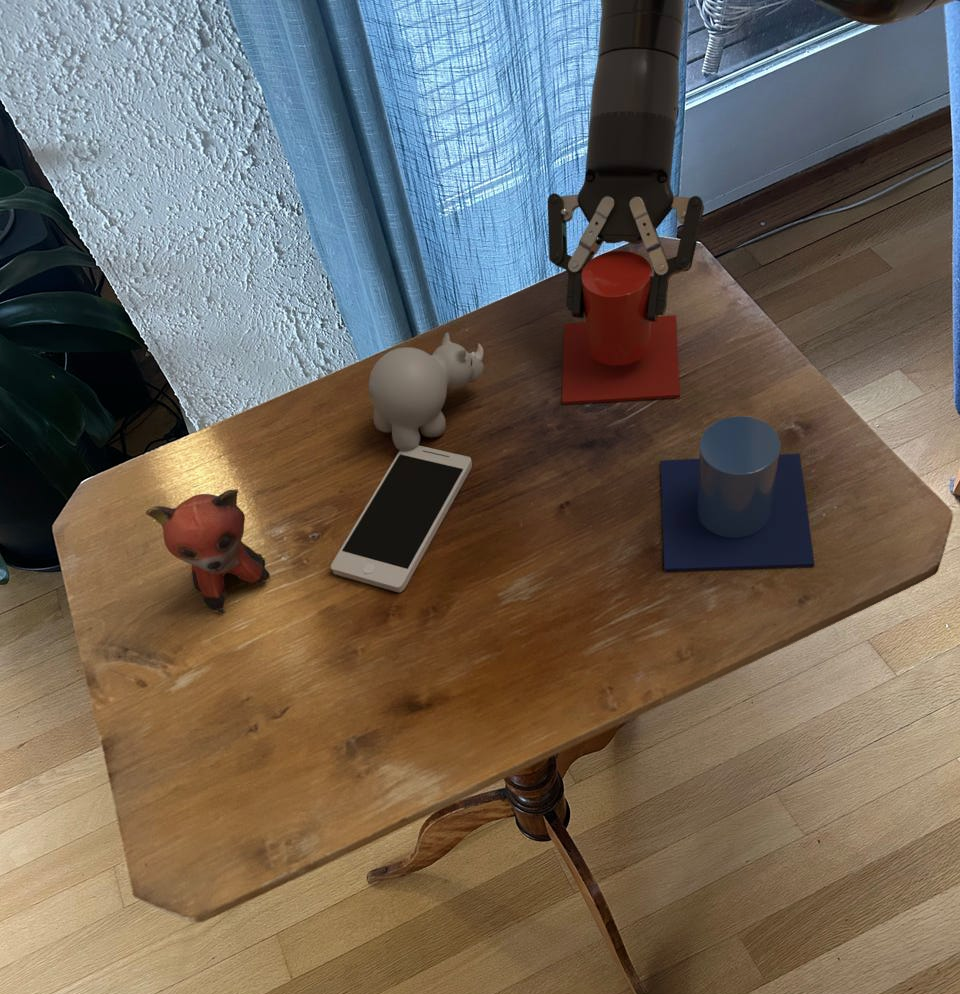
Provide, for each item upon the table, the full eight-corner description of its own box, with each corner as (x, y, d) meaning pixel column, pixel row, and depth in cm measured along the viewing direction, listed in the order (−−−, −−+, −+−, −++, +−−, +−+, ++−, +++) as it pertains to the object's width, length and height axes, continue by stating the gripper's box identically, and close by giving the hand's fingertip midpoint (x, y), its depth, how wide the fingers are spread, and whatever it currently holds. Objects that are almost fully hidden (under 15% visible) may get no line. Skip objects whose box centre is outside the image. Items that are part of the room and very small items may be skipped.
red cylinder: (651, 318, 99) (650, 247, 92) (653, 363, 96) (652, 293, 89) (587, 322, 100) (581, 253, 93) (586, 367, 97) (580, 299, 90)
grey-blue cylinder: (768, 480, 88) (777, 413, 82) (774, 537, 85) (784, 472, 78) (695, 483, 89) (697, 417, 83) (698, 539, 86) (701, 476, 79)
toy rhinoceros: (508, 411, 99) (502, 339, 92) (400, 465, 96) (385, 395, 89) (469, 371, 102) (460, 300, 95) (364, 422, 99) (347, 352, 93)
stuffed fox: (263, 510, 96) (217, 418, 86) (289, 599, 90) (243, 511, 80) (186, 537, 95) (131, 448, 85) (207, 629, 89) (150, 545, 79)
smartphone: (331, 573, 90) (328, 567, 90) (406, 448, 97) (404, 441, 96) (402, 594, 88) (400, 587, 87) (474, 463, 95) (472, 456, 94)
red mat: (675, 318, 101) (675, 314, 101) (679, 397, 96) (679, 394, 95) (564, 326, 103) (564, 323, 103) (562, 404, 97) (561, 401, 97)
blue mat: (799, 456, 90) (799, 453, 89) (813, 566, 83) (814, 563, 83) (660, 463, 92) (660, 460, 91) (664, 571, 85) (664, 568, 85)
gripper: (543, 107, 88) (528, 312, 92) (714, 106, 84) (691, 319, 88) (560, 129, 95) (546, 319, 99) (719, 129, 91) (697, 326, 95)
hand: (614, 318), depth 93 cm, fingers closed on red cylinder, 6 cm apart
